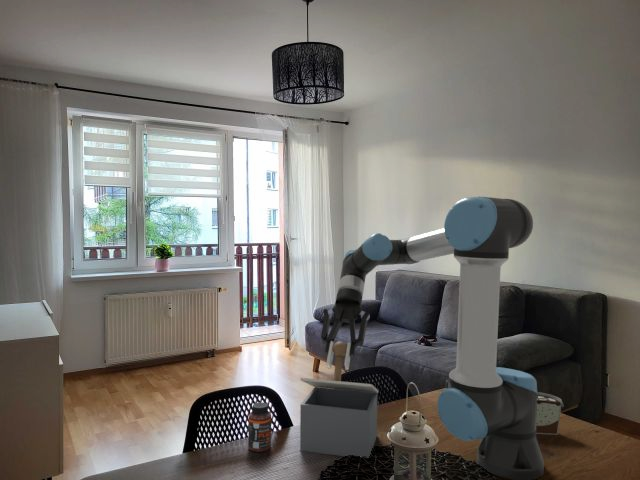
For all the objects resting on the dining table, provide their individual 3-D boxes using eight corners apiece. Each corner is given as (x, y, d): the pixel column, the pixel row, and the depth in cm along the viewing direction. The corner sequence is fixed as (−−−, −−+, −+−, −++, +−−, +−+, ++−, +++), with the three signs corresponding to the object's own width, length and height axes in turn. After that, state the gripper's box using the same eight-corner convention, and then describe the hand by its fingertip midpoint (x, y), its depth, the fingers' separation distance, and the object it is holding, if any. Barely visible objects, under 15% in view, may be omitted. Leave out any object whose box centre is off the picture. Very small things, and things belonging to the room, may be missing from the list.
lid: (378, 392, 129) (380, 352, 133) (371, 386, 116) (374, 342, 120) (313, 386, 134) (318, 348, 138) (300, 380, 121) (305, 337, 125)
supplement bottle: (259, 455, 118) (259, 411, 118) (243, 448, 121) (243, 405, 121) (275, 446, 123) (276, 404, 122) (259, 440, 126) (259, 399, 126)
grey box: (376, 435, 129) (377, 393, 129) (369, 459, 116) (369, 411, 116) (314, 428, 134) (314, 387, 134) (300, 450, 120) (300, 404, 120)
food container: (554, 425, 137) (554, 392, 137) (563, 435, 131) (563, 399, 131) (511, 423, 138) (511, 390, 138) (517, 432, 132) (518, 397, 132)
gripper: (380, 303, 137) (371, 376, 121) (323, 301, 141) (308, 371, 126) (377, 287, 132) (368, 361, 116) (319, 285, 136) (303, 356, 120)
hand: (337, 366), depth 121 cm, fingers closed on lid, 4 cm apart
